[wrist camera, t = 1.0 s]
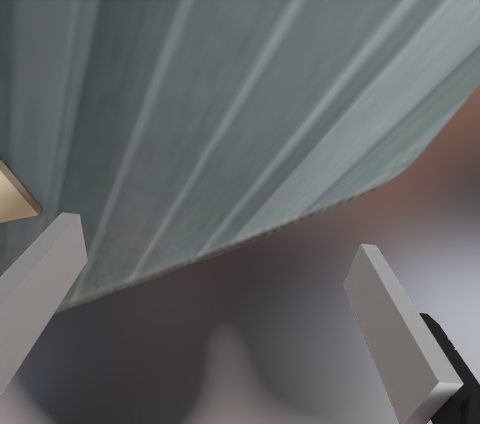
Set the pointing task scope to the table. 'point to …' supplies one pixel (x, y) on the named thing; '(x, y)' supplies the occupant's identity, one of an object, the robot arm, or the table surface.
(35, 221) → the table surface
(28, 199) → the board
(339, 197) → the table surface
